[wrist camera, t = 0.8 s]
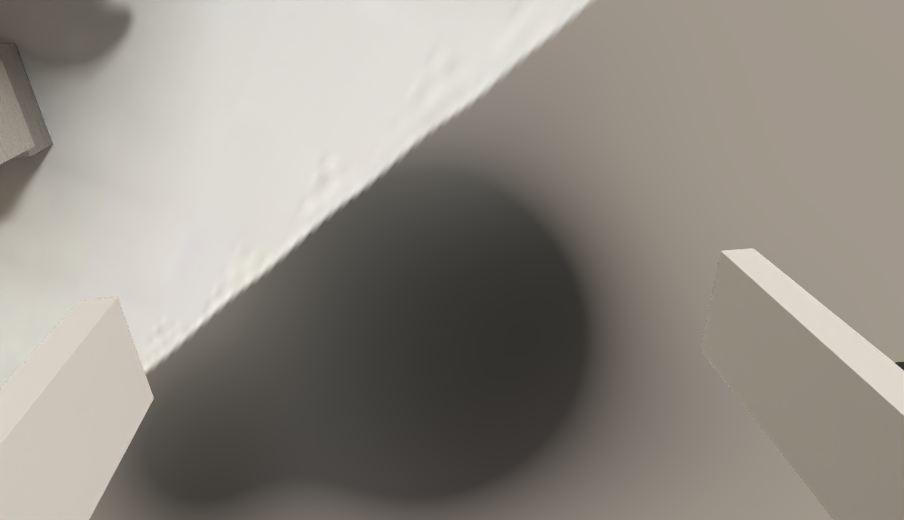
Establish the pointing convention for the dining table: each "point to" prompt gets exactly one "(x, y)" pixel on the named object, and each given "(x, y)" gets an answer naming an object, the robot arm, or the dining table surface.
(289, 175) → the dining table surface
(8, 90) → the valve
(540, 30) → the dining table surface
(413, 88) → the dining table surface
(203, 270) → the dining table surface
